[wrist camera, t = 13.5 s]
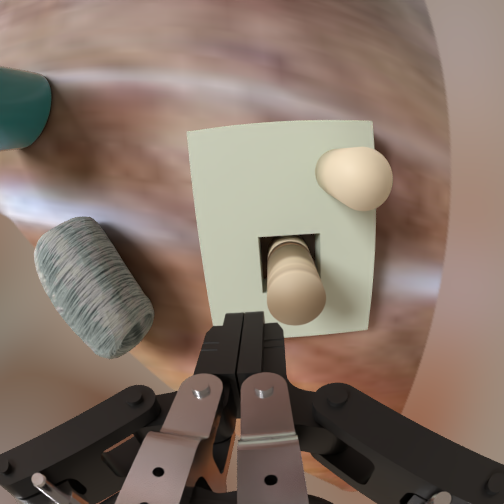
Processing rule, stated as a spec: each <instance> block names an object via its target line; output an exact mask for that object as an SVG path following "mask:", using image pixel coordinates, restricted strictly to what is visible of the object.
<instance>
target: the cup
mask: <svg viewBox="0 0 504 504" xmlns="http://www.w3.org/2000/svg"><path fill="white" fill-rule="evenodd" d="M50 108H51V88H50V85H49V83H48V81H47V79H46V78H45V77H44V76H43V75H41V74H38V73H34V72H30V71H25V70H20V69H15V68H9V67H3V66H0V151H8V150H18V149H23V148H26V147H28V146H30V145H31V144H32V143H33V142H34V141H35V140H36V139H37V138H38V137H39V135H40V134H41V132H42V131H43V129H44V127H45V125H46V122H47V120H48V117H49V113H50Z"/></svg>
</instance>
